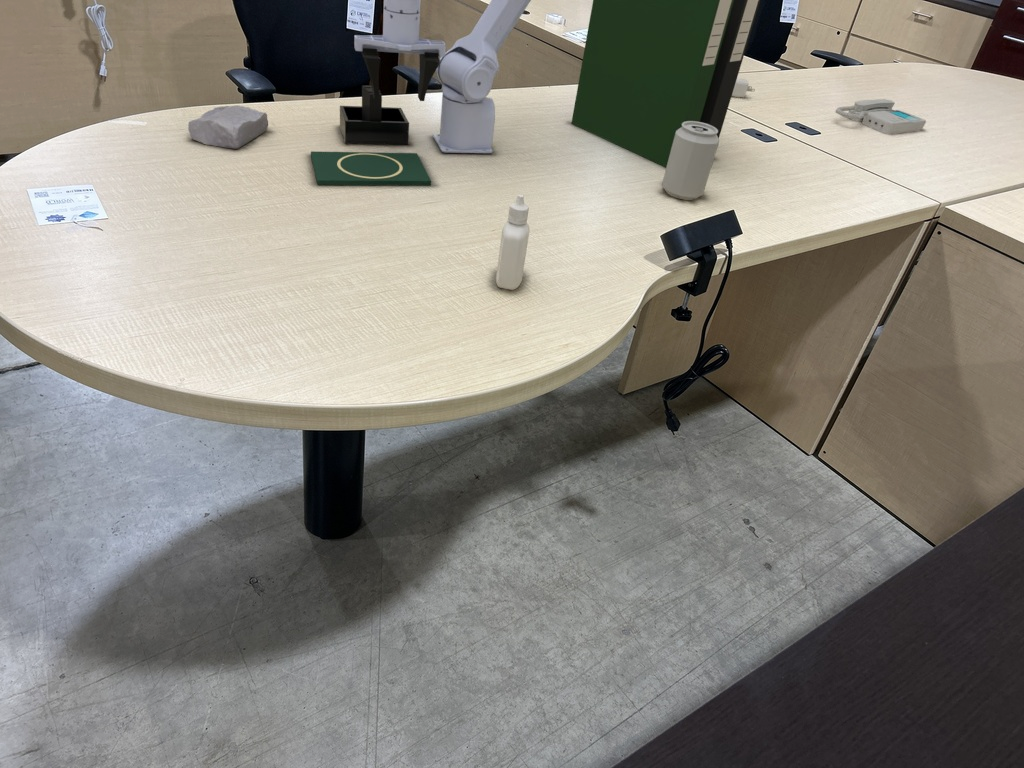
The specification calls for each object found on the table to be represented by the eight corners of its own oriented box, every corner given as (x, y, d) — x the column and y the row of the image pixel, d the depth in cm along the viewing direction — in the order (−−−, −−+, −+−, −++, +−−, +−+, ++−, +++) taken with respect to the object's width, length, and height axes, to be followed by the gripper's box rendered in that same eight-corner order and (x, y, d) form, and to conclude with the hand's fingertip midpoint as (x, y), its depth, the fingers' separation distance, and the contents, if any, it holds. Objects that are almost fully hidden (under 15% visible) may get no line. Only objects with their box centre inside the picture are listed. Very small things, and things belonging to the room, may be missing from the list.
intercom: (827, 101, 181) (887, 96, 193) (821, 119, 184) (880, 113, 196) (872, 119, 173) (931, 113, 185) (865, 137, 175) (923, 130, 188)
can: (704, 191, 133) (724, 125, 126) (699, 205, 128) (720, 137, 120) (664, 181, 135) (681, 115, 128) (657, 195, 129) (675, 126, 122)
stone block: (186, 150, 122) (241, 150, 120) (178, 121, 120) (233, 120, 118) (224, 132, 132) (274, 131, 130) (216, 104, 129) (268, 103, 127)
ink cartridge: (381, 138, 132) (382, 92, 127) (369, 138, 131) (369, 92, 127) (373, 128, 136) (374, 84, 131) (361, 129, 135) (361, 84, 130)
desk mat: (416, 157, 129) (417, 152, 128) (431, 185, 120) (431, 180, 119) (310, 155, 123) (310, 150, 122) (317, 185, 114) (317, 179, 114)
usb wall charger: (723, 92, 192) (728, 76, 190) (747, 94, 193) (752, 79, 191) (728, 96, 189) (733, 80, 187) (753, 99, 190) (758, 83, 188)
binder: (568, 123, 154) (599, -51, 135) (613, 115, 163) (648, -49, 144) (671, 170, 140) (722, -17, 121) (714, 157, 149) (767, -18, 130)
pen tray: (400, 129, 139) (401, 107, 136) (408, 145, 133) (409, 122, 130) (339, 127, 135) (339, 105, 133) (345, 143, 129) (345, 121, 127)
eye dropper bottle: (482, 280, 97) (493, 195, 90) (509, 267, 101) (520, 184, 94) (508, 293, 95) (520, 207, 88) (534, 280, 99) (548, 196, 92)
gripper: (358, 12, 110) (358, 104, 118) (452, 19, 115) (445, 107, 123) (352, 1, 115) (352, 90, 124) (442, 9, 120) (437, 94, 128)
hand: (398, 98), depth 124 cm, fingers open, 7 cm apart
